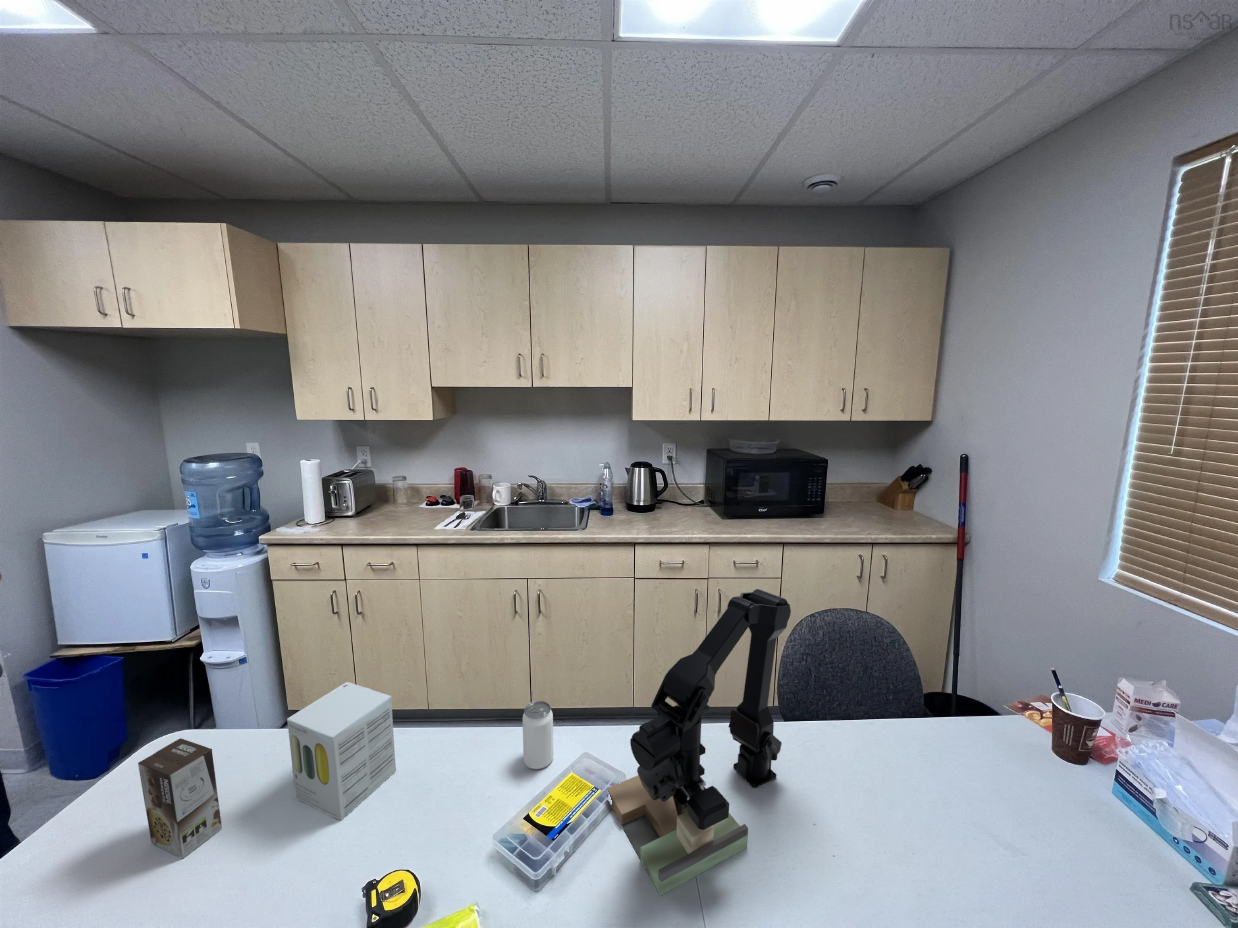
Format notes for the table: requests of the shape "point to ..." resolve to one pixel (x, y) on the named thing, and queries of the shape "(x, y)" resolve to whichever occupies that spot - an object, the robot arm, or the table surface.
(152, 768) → the coffee box
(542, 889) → the table surface
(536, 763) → the can
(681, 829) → the maple block
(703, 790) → the robot arm
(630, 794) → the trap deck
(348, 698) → the supplement box
